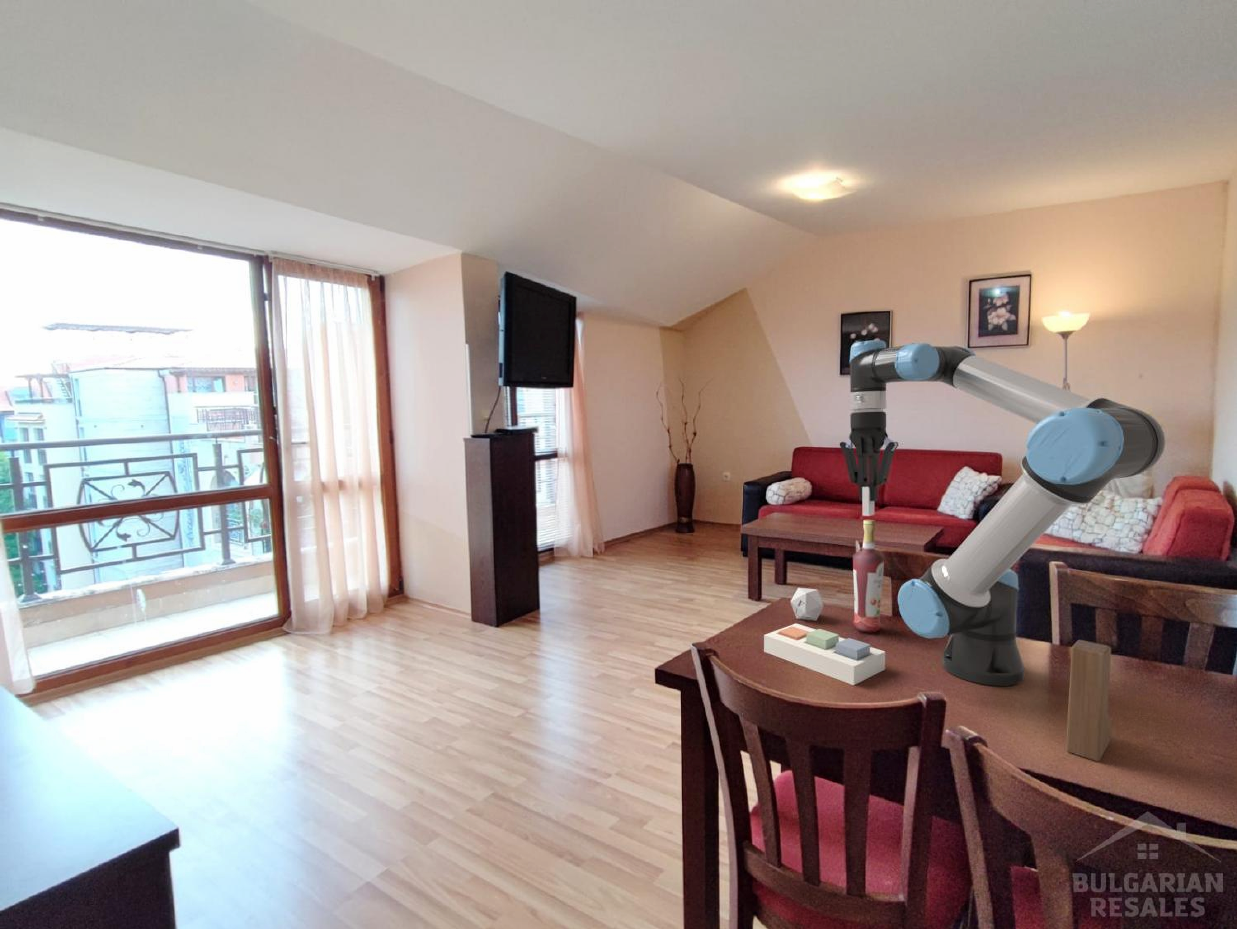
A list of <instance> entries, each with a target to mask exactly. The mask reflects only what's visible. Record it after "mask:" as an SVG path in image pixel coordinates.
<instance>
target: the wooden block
mask: <svg viewBox="0 0 1237 929" xmlns="http://www.w3.org/2000/svg"><path fill="white" fill-rule="evenodd" d="M1070 653H1071V654H1070V669H1069V672H1070V673H1069V674H1070V675H1069V690H1068V709H1067V724H1066V725H1067V726H1066V743H1065V744H1066V745H1065V749H1066V752H1068V753H1070V754H1073V753H1074V755H1076V756H1080V757H1083V758H1085V759H1088V760H1091V761H1094V762H1100V761H1101V758H1102V757H1103V755H1104V753H1105V752H1106V750H1107V748H1108V747H1109V745H1110V742H1112V741H1111V739H1112V728H1113V727H1112V726H1113V718H1112V716H1110V715H1108V714H1109V713H1108V712H1109V708H1108V707H1109V706H1108V705H1109V694H1110V693H1109V689H1110V688H1109V687H1110V677H1111V676H1110V674H1111V658H1112V647H1111V646H1110V645H1106V644H1102V643H1101V644H1100V643H1096V642H1093V641H1092V642H1091V641H1087V640H1083V639H1078V640H1076V642H1075V643H1074V644H1072V647H1071V651H1070Z"/></svg>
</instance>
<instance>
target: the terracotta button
mask: <svg viewBox="0 0 1237 929" xmlns="http://www.w3.org/2000/svg"><path fill="white" fill-rule="evenodd" d="M807 633H810V632H808V631H805V630H802V629H799V628H796V627H793V626H792V627H789V628H786V629H784V630H781V631H779V634H780V635H783V636H786V637H789V638H791V639H794V640H800V639H802V638H805V637H806V634H807Z"/></svg>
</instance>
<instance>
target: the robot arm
mask: <svg viewBox="0 0 1237 929" xmlns="http://www.w3.org/2000/svg"><path fill="white" fill-rule="evenodd" d="M849 354H850V355H849V362H848V363H849V372H850V373H849V374H850V375H849V378H850V382H849V384H850V385H849V386H850V388H849V389H850V390H849V391H850V393H849V394H850V395H849V396H850V400H849V401H850V403H849V404H850V410H851V411H853V412H851V413H850V415H849V416H850V419H849V420H850V423H849V424H850V433H849V435H848V438H847V439H845V441H840V442H839V446H840V448H841V449H842V452H843V455H844V459H845V464H846V468H847V472H848V476H849V481H850V483H851V484H855V485H857V487H858V499H859V501H862V506H861V507H862V512H861V513H862V516H864V517H870V516H874V515H875V502H877V501H878V499H879V487H880V486H881V485H884V484H885V485H886V484H887V482H888V478H889V474H890V469H891V467H892V466H891V465H892V461H893V457H894V453H895V451H896V450H897V448H898V447H899V442H898V441H893V439H890V438H889V434H888V433H887V412H886V411H884V410H885V409H887V384H889V383H890V384H891V383H902V382H903V383H904V382H905V383H906V382H928V383H929V382H934V383H935V382H936V383H937V382H939V383H944V384H946V385H948V386H950V387H953V388H955V389H958V390H960V391H962V392H965V393H967V394H968V395H971V396H973V397H976V398H978V399H981V400H982V401H985V402H987V403H989V404H990V405H993V406H996V407H997V408H1000V409H1002V410H1004V411H1007V412H1009V413H1011V414H1013V415H1015V416H1018V417H1020V418H1022V419H1024V420H1027V421H1029V422H1032V423H1034V424H1035V425H1034V427H1033V428H1032V430H1031V431H1030V433H1029V435H1028V437H1027V439H1026V443H1025V447H1026V449H1027V450H1026V452H1025V456H1024V457H1023V458H1021V461H1020V467H1021V470H1022V471H1021V472H1022V474H1021V475H1020V477H1019V478H1018V479H1017V480H1016V481H1015V483H1013V485H1012V486H1010V488H1009V489H1008V491H1007V492H1006V493H1005V494H1004V495H1003V496H1002V497H1001V498H1000V499H999V501H998V502H997V503H996V504H995V505H994V507H993V508H991V510H990V511H989V512H988V513H987V514H986V515H985V516H984V518H983V519H982V520H981V521H980V522H979V523H978V525H977V526H976V527H975V528H974V529H973V531H971V533H970V534H968V535H967V537H966V538H965V540H964V541H963V542H962V543H961V544H960V545H959V546H958V548H957V549H956V550H955V551H954V552H953V553H952V554H951V555H950V557H949V558H940V559H937V560H935V561H934V562H933V564H932V565H930V567H929V568H928V569H927V570H926V572H924V574H923V575H922V576H921V577H919V578H911V579H910V580H908V581H906V582H905V583H903V584H902V585H901V587H900V589H899V590H898V595H897V604H898V607H899V608H898V610H899V613H900V615H901V618H902V620H903V621H904V623H905V624H906V625H907V627H908V628H909V629H910V630H911V631H912V632H913V633H915V634H916V635H917V636H920V637H921V638H922V637H923V638H925V639H940V638H944V637H946V636H949V639H948V641H947V644H946V646H945V648H944V650H943V653H942V660H941V663H942V667H943V669H944V670H945V671H947V672H948V673H949V674H951V675H953V676H956V677H958V678H959V679H963V680H965V681H969V682H972V683H977V684H980V685H981V684H982V685H989V686H999V687H1000V686H1001V687H1003V686H1004V687H1005V686H1006V687H1007V686H1008V687H1009V686H1014V684H1015V685H1017V683H1018V684H1020V683H1022V682H1024V680H1023V679H1025V665H1024V662H1023V658H1022V656H1021V653H1020V651H1019V650H1020V649H1019V647H1018V644H1017V639H1016V637H1017V635H1016V634H1017V619H1018V617H1017V616H1018V603H1019V602H1018V600H1019V599H1018V598H1019V591H1020V588H1019V577H1018V574H1017V573H1016V572H1015V571H1014V570H1012V569H1011V567H1012V566H1013V565H1014V564H1016V563H1017V561H1018V560H1019V559H1020V558H1021V557H1023V555H1024V554H1025V553H1026V552H1027V551H1028V550H1029V549H1030V548H1031V547H1032V546H1033V545H1034V544H1035V543H1036V542H1037V541H1038V540H1039V539H1040V537H1042V536H1043V535H1044V534H1045V533H1046V532H1047V531H1048V530H1049V528H1050V527H1052V526H1053V524H1055V522H1057V520H1059V518H1060V517H1061V516H1062V515H1064V514H1065V512H1066V511H1067V510H1069V508H1071V506H1073V505H1087V504H1089V503H1090V502H1091V501H1092V500H1093V499H1094V498H1095V497H1096V496H1098V494H1100V492H1101V491H1102V490H1103V489H1104V488H1106V486H1107V485H1108V484H1109V483H1110V482H1111V481H1113V480H1115V479H1124V478H1131V477H1134V476H1137V475H1140V474H1143V473H1144V472H1146V471H1148V470H1150V469H1152V467H1154V466H1155V465H1156V464H1157V463H1158V461H1159V460H1160V459H1161V457H1162V455H1163V453H1164V450H1165V446H1166V437H1165V432H1164V430H1163V427H1162V426H1161V425H1160V423H1159V422H1158V421H1157V420H1156V419H1155V418H1154V417H1153V416H1152V415H1150V413H1147V412H1145V411H1143V410H1140V409H1138V408H1134V407H1131V406H1128V405H1125V404H1122V403H1119V402H1116V401H1114V400H1111V399H1108V398H1105V397H1096V398H1094V399H1091V398H1088V397H1085V396H1083V395H1080V394H1078V393H1075V392H1073V391H1069V390H1067V389H1064V388H1061V387H1059V386H1056V385H1054V384H1051V383H1048V382H1046V381H1044V380H1040V379H1039V378H1036V377H1032V376H1031V375H1030V376H1029V375H1028V374H1024V373H1022V372H1020V371H1017V370H1015V369H1011V368H1008V367H1006V366H1004V365H1001V364H998V363H995V362H993V361H990V360H988V359H985V358H983V357H980V356H977V355H976V353H975V352H974V351H973V350H972V349H970V348H967V347H962V346H957V345H954V346H952V345H951V346H942V345H941V346H938V345H937V346H935V345H931V344H930V343H928V342H927V343H926V342H922V343H919V342H918V343H908V344H904V345H898V346H893V347H887V343H886V342H885V341H884V340H879V339H877V340H865V341H858V342H854V343H852V345H851V347H850V353H849ZM853 447H854V448H855V449H856V455H855V452H854V448H853ZM882 447H883V448H884V450H883V452H882V456H881V462H880V455H881V449H882ZM856 456H857V458H856ZM1019 682H1020V683H1019Z"/></svg>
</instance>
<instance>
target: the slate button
mask: <svg viewBox="0 0 1237 929" xmlns="http://www.w3.org/2000/svg"><path fill="white" fill-rule="evenodd" d="M844 639H845V640H843V641H841V642H838V643H836V654H838V655H841V656H844V657H847V658H850V659H853V660H856V661H859V660H861V659H863V658H865V657H867V656H870V647H871V644H869V643H866V642H863V641H861V640H857V639H854V638H850V637H848V638H844Z"/></svg>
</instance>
